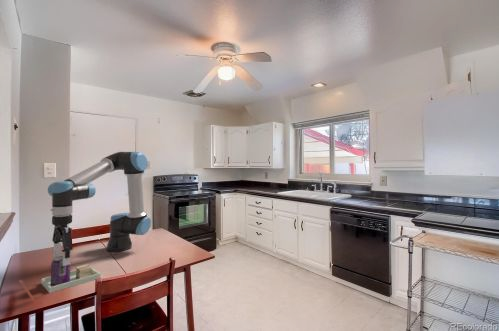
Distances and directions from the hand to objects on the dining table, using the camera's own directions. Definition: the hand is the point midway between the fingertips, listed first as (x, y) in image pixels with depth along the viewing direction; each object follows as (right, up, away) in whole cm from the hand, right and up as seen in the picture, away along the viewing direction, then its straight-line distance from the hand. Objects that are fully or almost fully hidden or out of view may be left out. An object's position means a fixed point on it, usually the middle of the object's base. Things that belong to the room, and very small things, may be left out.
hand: (61, 260), depth 118 cm
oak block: (+5, -11, +7) cm, 14 cm away
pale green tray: (+2, -11, +3) cm, 12 cm away
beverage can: (0, -11, 0) cm, 11 cm away
